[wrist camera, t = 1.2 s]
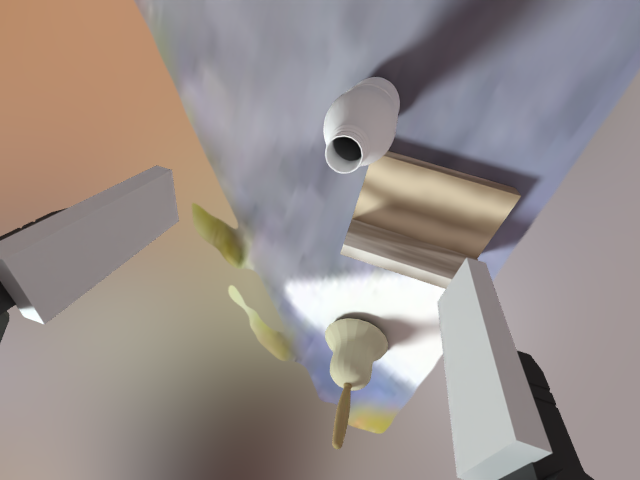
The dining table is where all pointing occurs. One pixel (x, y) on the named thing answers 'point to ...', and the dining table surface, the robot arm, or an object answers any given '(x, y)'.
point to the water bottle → (361, 124)
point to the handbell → (352, 363)
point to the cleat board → (424, 218)
